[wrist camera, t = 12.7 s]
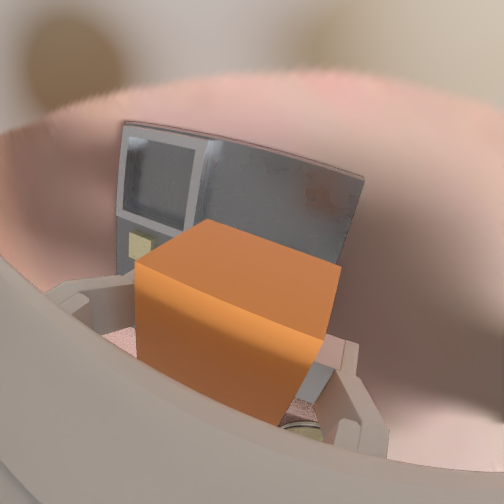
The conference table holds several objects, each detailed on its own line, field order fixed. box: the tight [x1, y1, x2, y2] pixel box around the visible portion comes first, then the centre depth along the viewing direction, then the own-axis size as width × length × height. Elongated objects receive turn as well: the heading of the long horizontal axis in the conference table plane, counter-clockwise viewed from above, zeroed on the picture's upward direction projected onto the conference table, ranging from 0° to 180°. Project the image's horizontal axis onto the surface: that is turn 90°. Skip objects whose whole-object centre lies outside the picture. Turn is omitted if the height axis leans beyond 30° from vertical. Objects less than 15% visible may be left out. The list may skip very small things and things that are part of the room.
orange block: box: [134, 219, 342, 426], centre depth 10 cm, size 5×5×4 cm
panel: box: [116, 122, 365, 328], centre depth 26 cm, size 20×22×3 cm
